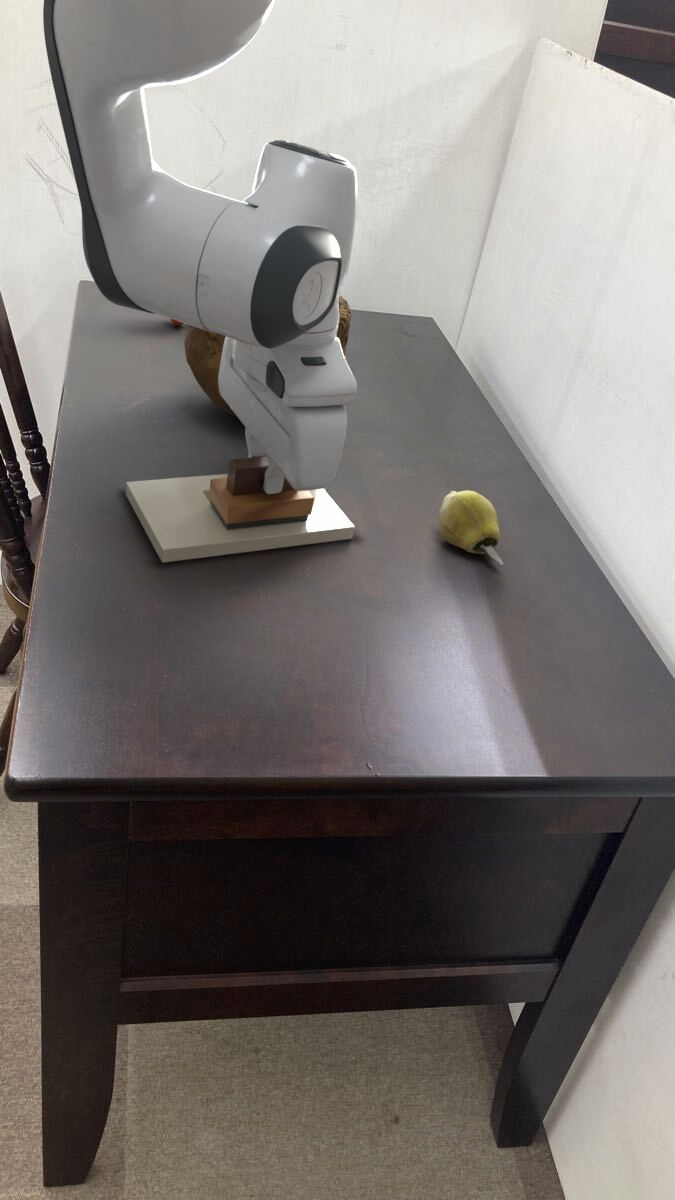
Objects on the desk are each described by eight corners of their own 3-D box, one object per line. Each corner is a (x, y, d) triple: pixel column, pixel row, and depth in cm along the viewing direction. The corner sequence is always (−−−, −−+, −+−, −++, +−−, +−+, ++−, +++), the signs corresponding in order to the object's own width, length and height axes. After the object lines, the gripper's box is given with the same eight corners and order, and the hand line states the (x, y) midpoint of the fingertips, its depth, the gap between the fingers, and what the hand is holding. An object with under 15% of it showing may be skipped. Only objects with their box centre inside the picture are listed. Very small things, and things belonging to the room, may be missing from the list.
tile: (162, 563, 82) (163, 548, 81) (125, 494, 90) (126, 481, 89) (352, 539, 91) (355, 525, 90) (303, 478, 99) (306, 466, 98)
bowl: (339, 397, 118) (361, 284, 109) (323, 462, 103) (347, 338, 94) (199, 367, 117) (210, 252, 108) (163, 429, 102) (172, 300, 93)
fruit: (477, 581, 89) (414, 519, 93) (508, 579, 93) (446, 519, 98) (510, 536, 86) (443, 474, 91) (540, 535, 91) (475, 477, 95)
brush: (225, 531, 85) (232, 478, 82) (207, 503, 88) (213, 451, 85) (310, 521, 89) (319, 471, 86) (290, 495, 92) (298, 445, 89)
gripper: (209, 300, 84) (197, 432, 92) (298, 398, 70) (274, 543, 78) (270, 300, 87) (253, 428, 95) (367, 395, 73) (338, 535, 81)
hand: (264, 481), depth 87 cm, fingers closed on brush
